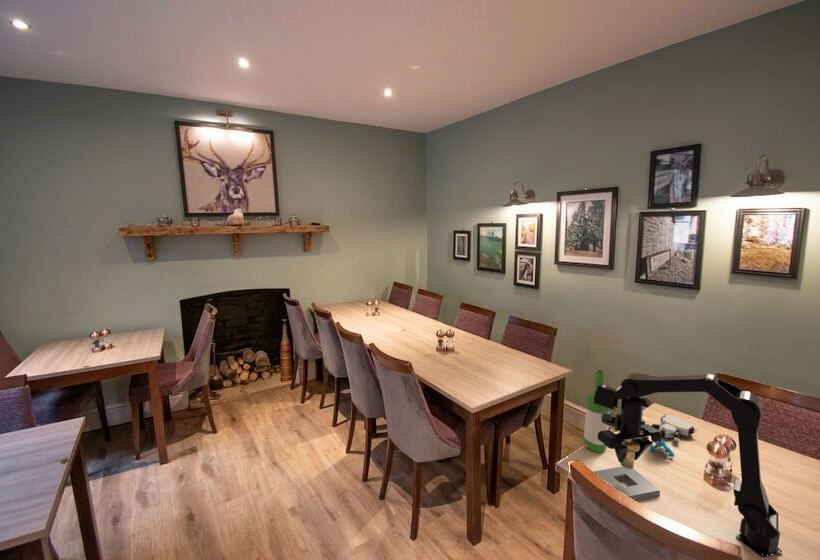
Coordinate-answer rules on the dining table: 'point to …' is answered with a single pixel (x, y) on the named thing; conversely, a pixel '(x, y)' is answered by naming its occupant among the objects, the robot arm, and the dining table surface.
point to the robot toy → (674, 427)
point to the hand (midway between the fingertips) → (627, 460)
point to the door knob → (630, 453)
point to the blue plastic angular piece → (662, 443)
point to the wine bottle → (595, 418)
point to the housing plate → (639, 484)
